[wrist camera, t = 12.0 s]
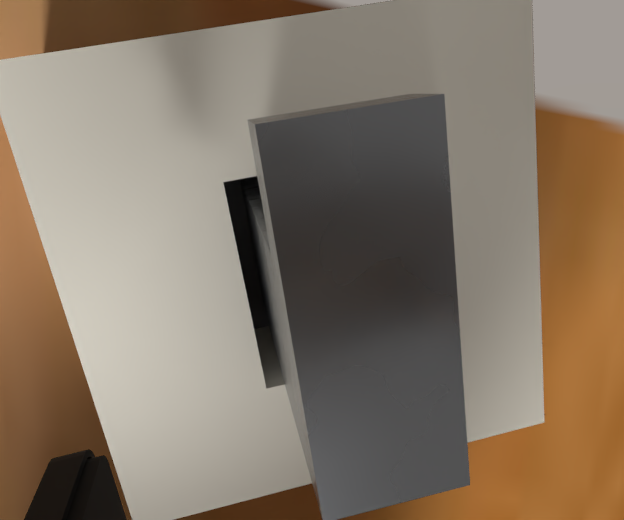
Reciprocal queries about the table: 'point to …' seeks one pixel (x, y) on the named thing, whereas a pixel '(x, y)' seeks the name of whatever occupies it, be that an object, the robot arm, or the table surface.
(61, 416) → the table surface
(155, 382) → the slotted block
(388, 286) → the gray metal ingot
